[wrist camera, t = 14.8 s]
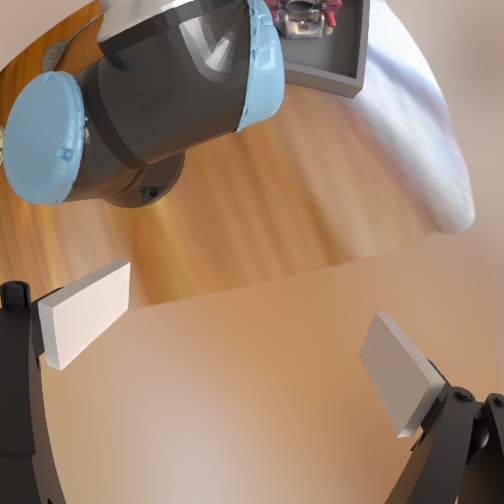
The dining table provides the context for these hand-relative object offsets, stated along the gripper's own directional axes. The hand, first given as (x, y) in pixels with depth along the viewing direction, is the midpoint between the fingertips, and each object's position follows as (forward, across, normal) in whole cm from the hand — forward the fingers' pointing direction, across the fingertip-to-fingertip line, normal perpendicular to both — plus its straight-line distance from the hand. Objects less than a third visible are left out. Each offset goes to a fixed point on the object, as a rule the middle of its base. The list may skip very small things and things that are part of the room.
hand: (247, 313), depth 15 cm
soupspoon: (+27, -39, +31) cm, 57 cm away
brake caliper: (+26, -1, +34) cm, 42 cm away
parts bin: (+27, -1, +32) cm, 42 cm away
